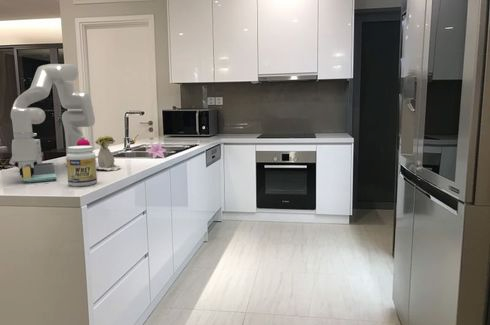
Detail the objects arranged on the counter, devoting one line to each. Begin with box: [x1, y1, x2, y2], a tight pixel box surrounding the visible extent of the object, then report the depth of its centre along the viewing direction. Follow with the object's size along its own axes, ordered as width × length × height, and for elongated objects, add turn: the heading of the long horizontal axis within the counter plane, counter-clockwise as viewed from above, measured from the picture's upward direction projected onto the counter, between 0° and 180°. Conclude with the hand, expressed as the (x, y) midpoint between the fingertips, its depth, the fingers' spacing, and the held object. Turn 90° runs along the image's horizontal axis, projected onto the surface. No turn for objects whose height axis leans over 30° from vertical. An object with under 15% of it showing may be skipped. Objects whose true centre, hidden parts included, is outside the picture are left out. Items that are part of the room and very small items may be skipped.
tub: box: [24, 162, 56, 175], centre depth 198 cm, size 13×9×6 cm
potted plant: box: [94, 135, 121, 172], centre depth 216 cm, size 12×13×18 cm
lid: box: [22, 166, 58, 184], centre depth 184 cm, size 13×9×7 cm
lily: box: [145, 141, 167, 159], centre depth 260 cm, size 12×12×10 cm
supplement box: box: [18, 138, 43, 173], centre depth 211 cm, size 10×9×17 cm
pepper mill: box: [77, 135, 91, 146], centre depth 197 cm, size 7×7×20 cm
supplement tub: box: [65, 145, 98, 187], centre depth 179 cm, size 12×12×17 cm
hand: (27, 176), depth 182 cm, fingers closed on lid, 2 cm apart
